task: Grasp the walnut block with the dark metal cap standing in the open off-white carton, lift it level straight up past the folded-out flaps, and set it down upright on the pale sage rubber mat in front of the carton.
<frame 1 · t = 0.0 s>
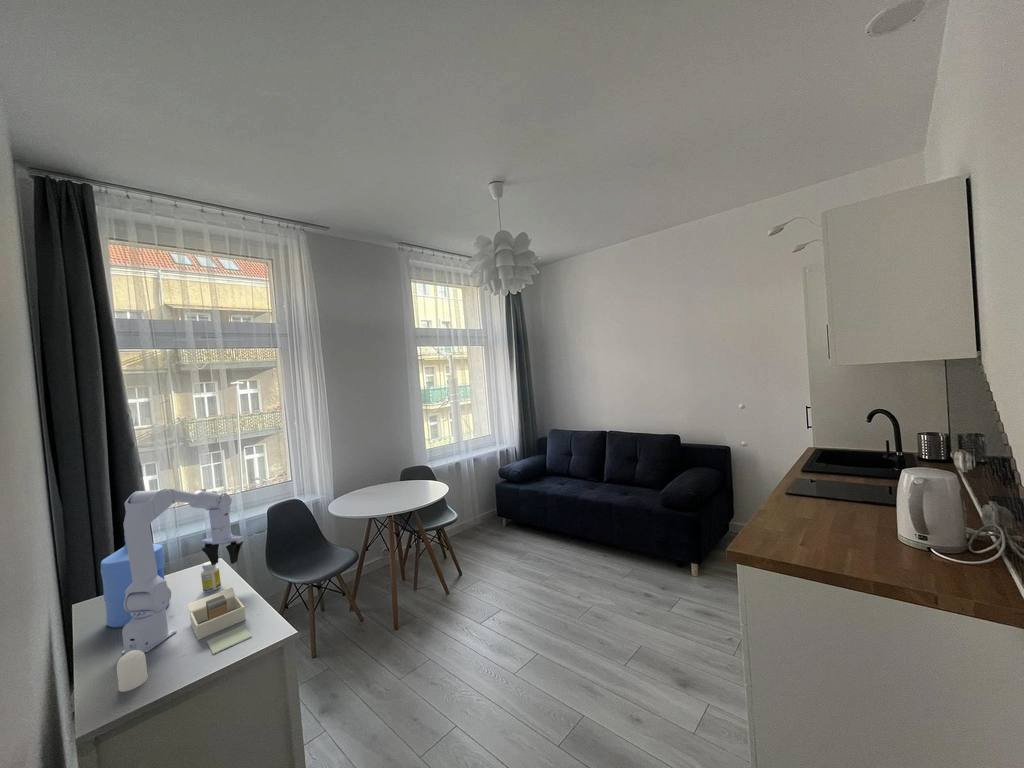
hand: (224, 563, 147), 10 cm above the dresser top, tool pointing down, fingers open, 7 cm apart
carton: (218, 622, 126), on the dresser top
supplement bottle: (212, 589, 150), on the dresser top
walnut block: (217, 611, 126), in the carton
water jug: (139, 615, 136), on the dresser top
mat: (229, 639, 116), on the dresser top
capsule: (133, 684, 101), on the dresser top
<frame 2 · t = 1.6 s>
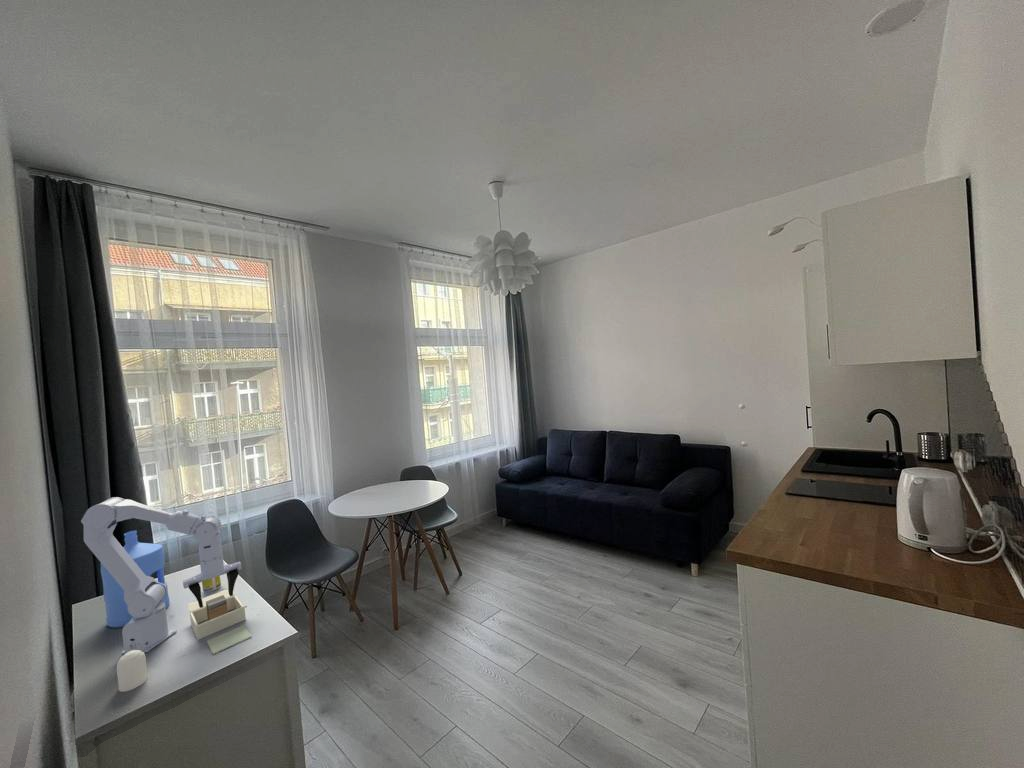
hand: (216, 600, 126), 7 cm above the dresser top, tool pointing down, fingers open, 7 cm apart
nothing on the dresser top moved.
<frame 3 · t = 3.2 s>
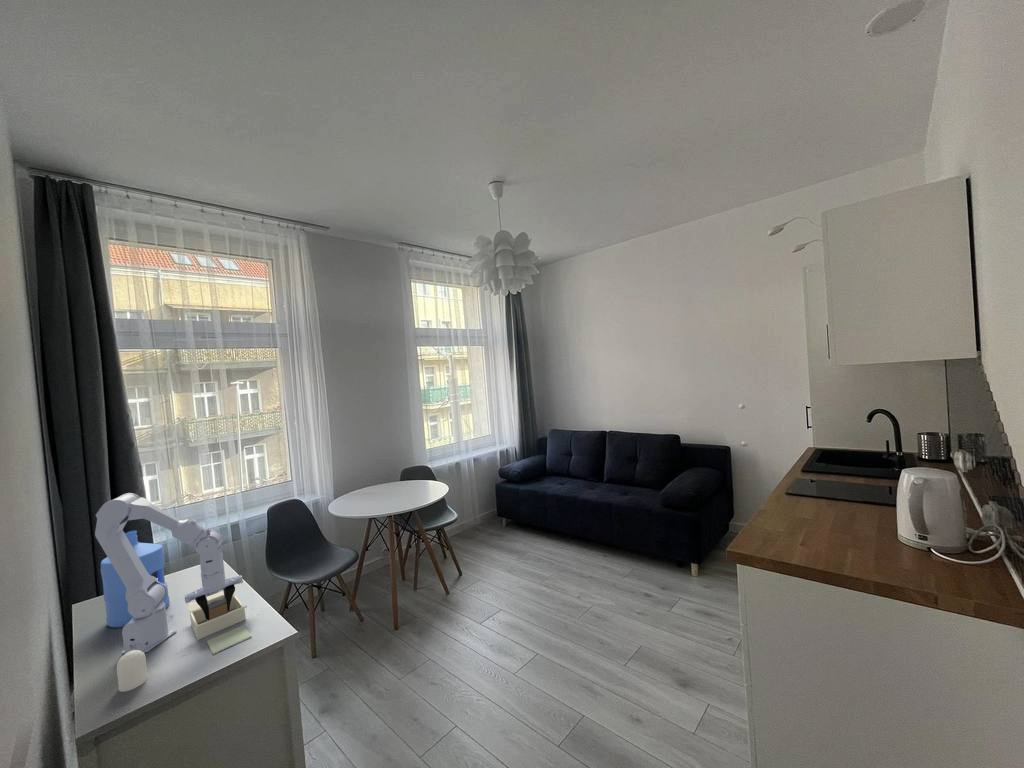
hand: (217, 614, 126), 2 cm above the dresser top, tool pointing down, fingers closed on walnut block, 4 cm apart
walnut block: (217, 611, 126), in the carton, touching gripper
everything else where it was.
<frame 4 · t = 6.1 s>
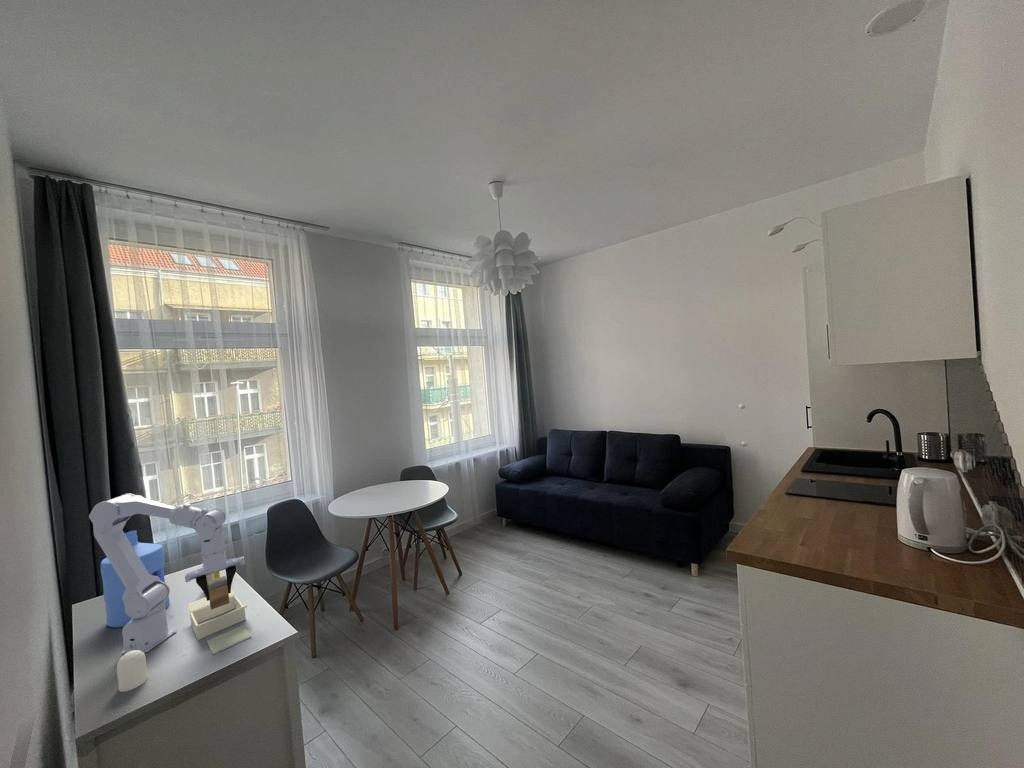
hand: (218, 595, 122), 10 cm above the dresser top, tool pointing down, fingers closed on walnut block, 4 cm apart
walnut block: (218, 592, 122), point 11 cm above the dresser top, touching gripper
everything else where it was.
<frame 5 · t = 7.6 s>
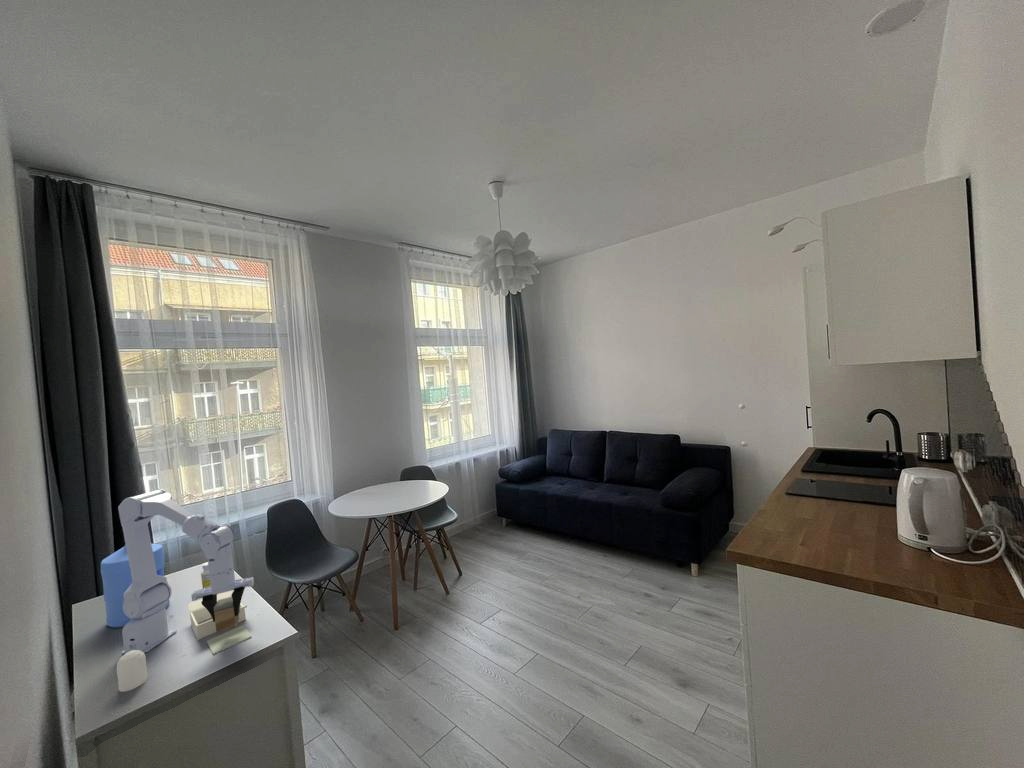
hand: (226, 617, 116), 7 cm above the dresser top, tool pointing down, fingers closed on walnut block, 4 cm apart
walnut block: (226, 613, 116), point 8 cm above the dresser top, touching gripper
everything else where it was.
when the fingers open (4 cm above the dresser top, at t = 9.0 s): walnut block drops 1 cm, resting on mat.
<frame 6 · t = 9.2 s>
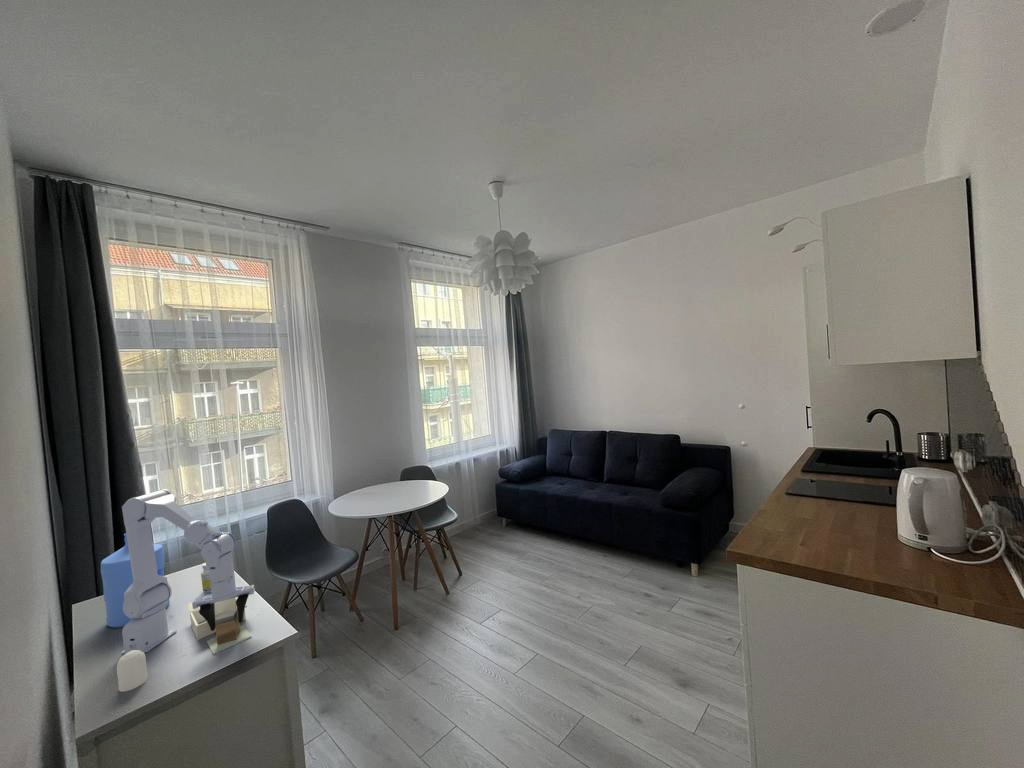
hand: (227, 624, 116), 4 cm above the dresser top, tool pointing down, fingers open, 6 cm apart
walnut block: (227, 625, 116), on the mat
everything else where it was.
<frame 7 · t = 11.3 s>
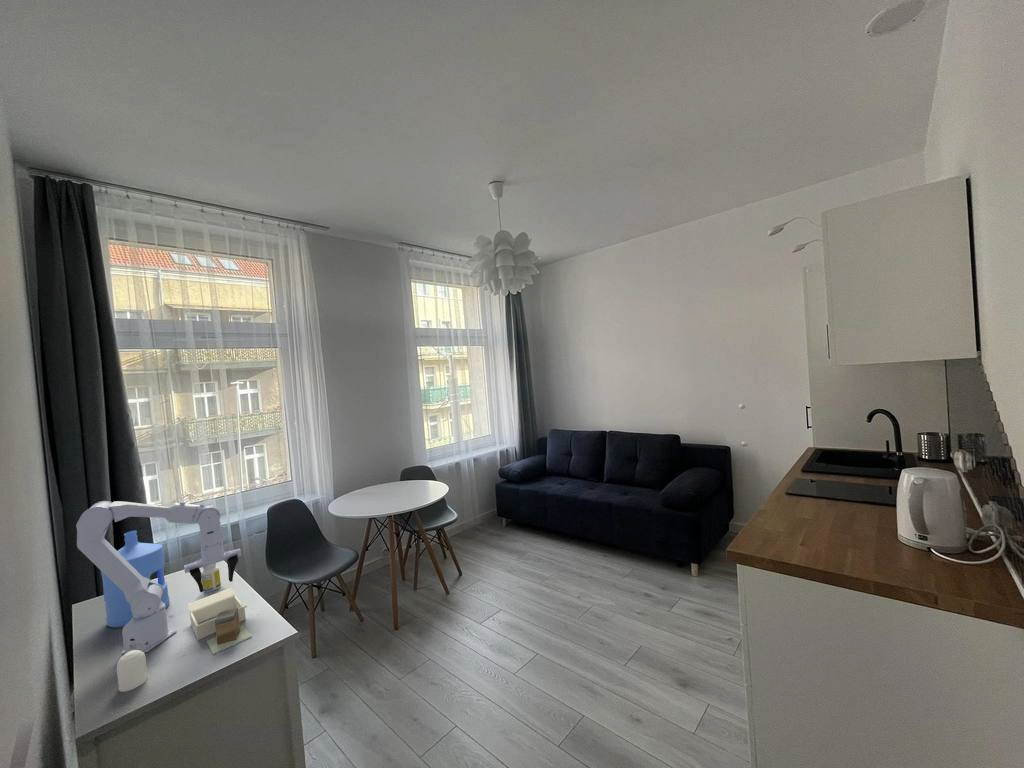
hand: (216, 585, 129), 10 cm above the dresser top, tool pointing down, fingers open, 7 cm apart
nothing on the dresser top moved.
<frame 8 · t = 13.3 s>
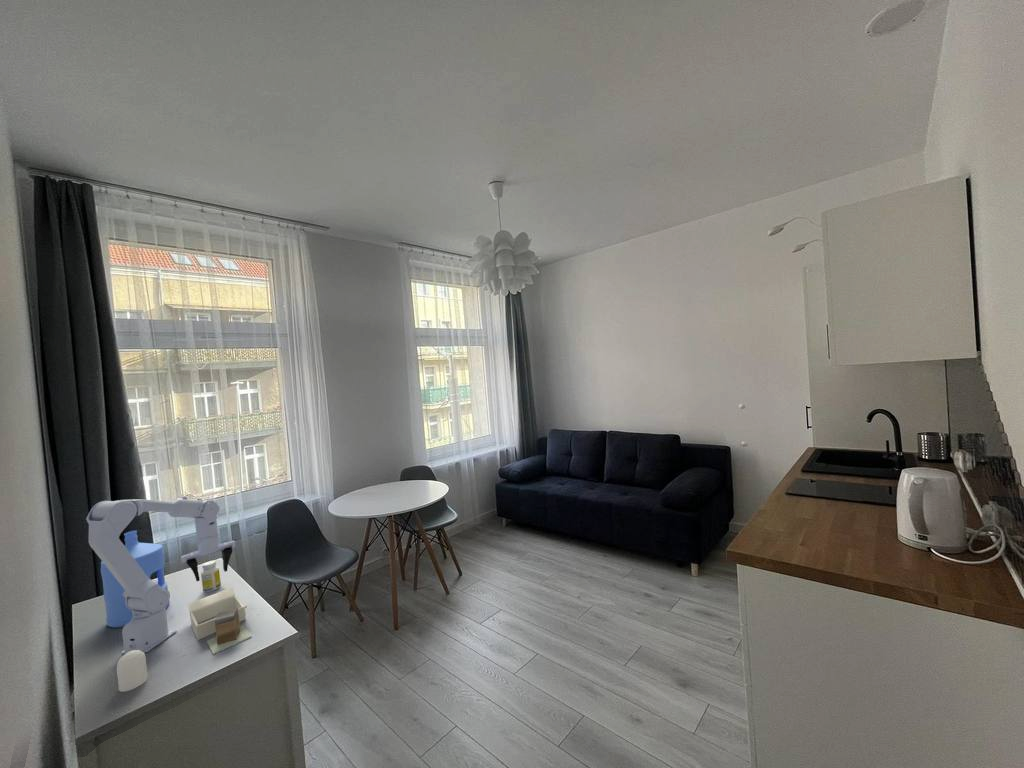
hand: (211, 575, 137), 10 cm above the dresser top, tool pointing down, fingers open, 7 cm apart
nothing on the dresser top moved.
at the end: walnut block 0.3 cm off-centre on the mat, point 3.9 cm above the mat's base; walnut block tilted 0°; the gripper is holding nothing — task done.
